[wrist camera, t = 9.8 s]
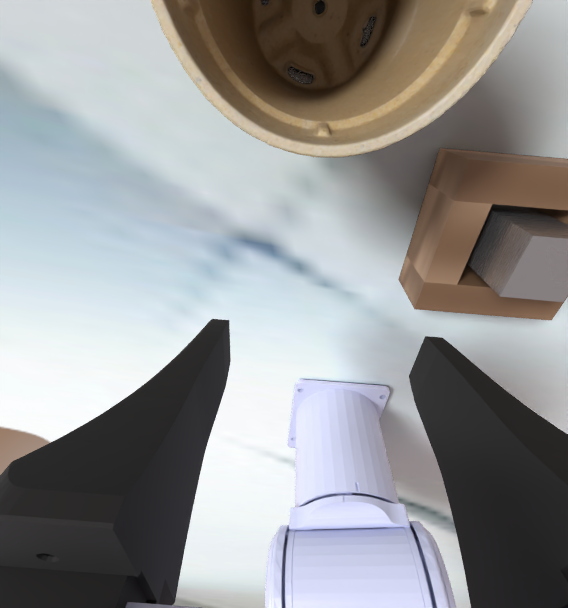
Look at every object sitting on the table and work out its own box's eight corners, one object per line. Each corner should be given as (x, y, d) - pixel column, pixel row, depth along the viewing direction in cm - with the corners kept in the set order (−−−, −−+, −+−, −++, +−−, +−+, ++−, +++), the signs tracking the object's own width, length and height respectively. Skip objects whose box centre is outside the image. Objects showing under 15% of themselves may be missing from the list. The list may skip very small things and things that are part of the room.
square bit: (496, 249, 20) (563, 302, 15) (449, 245, 20) (499, 296, 15) (520, 201, 18) (604, 242, 13) (468, 196, 18) (533, 235, 13)
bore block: (516, 289, 21) (551, 320, 18) (398, 279, 21) (414, 309, 18) (589, 160, 17) (650, 174, 14) (439, 147, 17) (469, 159, 14)
